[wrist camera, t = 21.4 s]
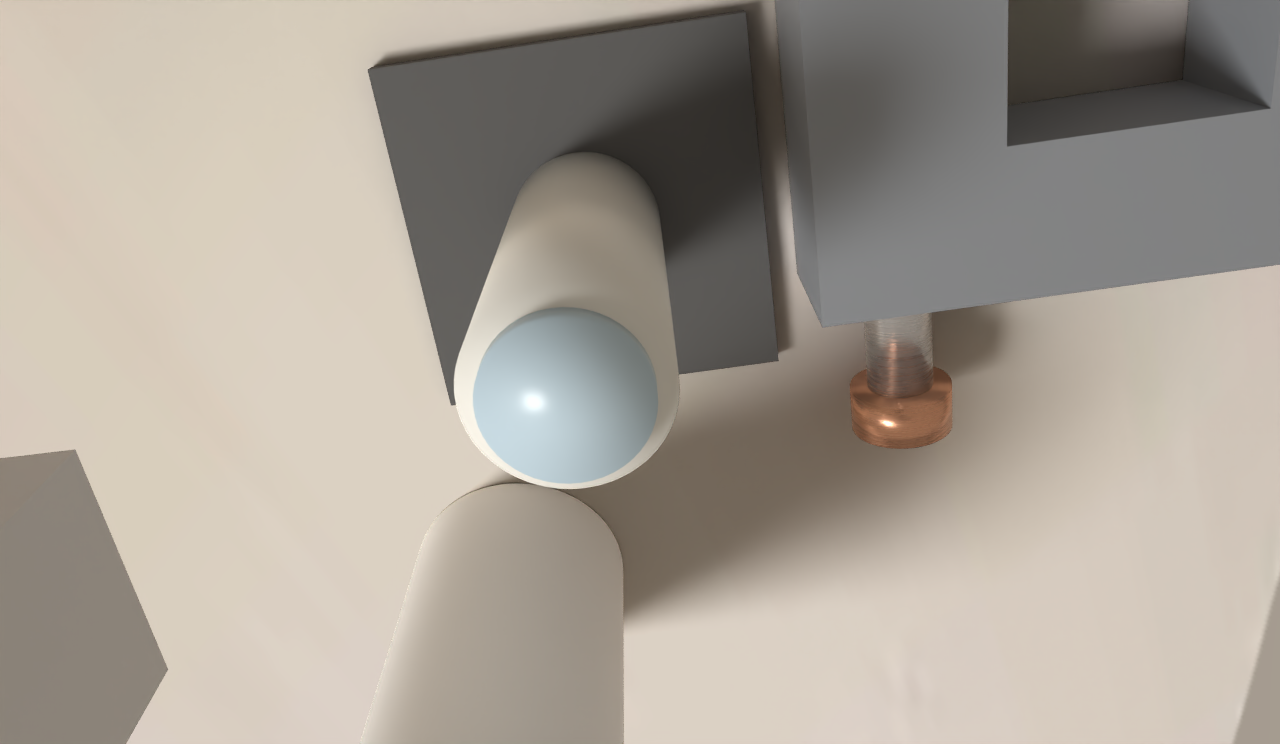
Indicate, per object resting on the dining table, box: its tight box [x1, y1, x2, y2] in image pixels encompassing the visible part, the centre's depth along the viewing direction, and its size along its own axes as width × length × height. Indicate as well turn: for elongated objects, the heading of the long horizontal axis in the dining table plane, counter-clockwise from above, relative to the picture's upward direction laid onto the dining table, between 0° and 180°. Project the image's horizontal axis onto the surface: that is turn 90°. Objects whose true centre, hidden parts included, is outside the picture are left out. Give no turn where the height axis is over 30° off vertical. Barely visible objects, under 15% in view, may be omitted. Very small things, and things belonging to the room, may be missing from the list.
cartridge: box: [454, 152, 680, 489], centre depth 28 cm, size 5×5×14 cm
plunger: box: [850, 312, 952, 449], centre depth 34 cm, size 10×3×3 cm, turn 8°
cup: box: [360, 483, 624, 744], centre depth 34 cm, size 8×8×16 cm
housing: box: [775, 0, 1280, 327], centre depth 30 cm, size 14×14×5 cm
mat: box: [368, 10, 779, 405], centre depth 35 cm, size 12×12×1 cm
